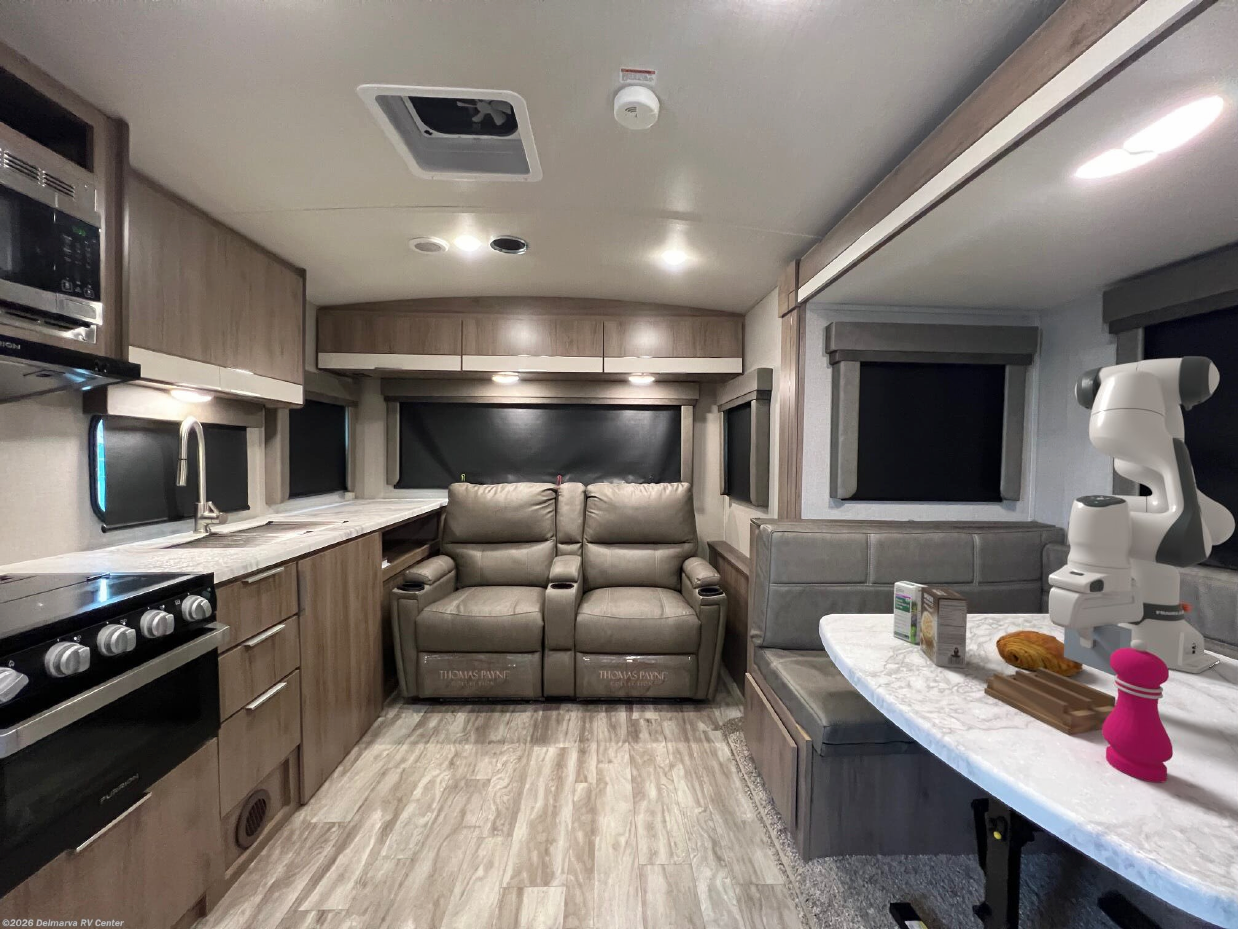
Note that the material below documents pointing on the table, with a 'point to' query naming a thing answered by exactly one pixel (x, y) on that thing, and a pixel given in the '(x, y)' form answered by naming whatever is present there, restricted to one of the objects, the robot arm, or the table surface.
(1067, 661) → the croissant
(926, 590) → the coffee box
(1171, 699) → the table surface
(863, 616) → the table surface
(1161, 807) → the table surface
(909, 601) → the syrup box
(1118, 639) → the tile
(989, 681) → the rack
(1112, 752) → the pepper mill
